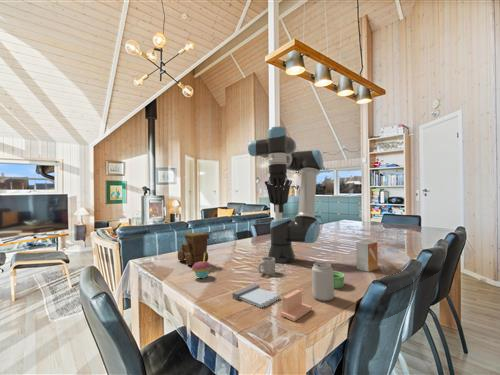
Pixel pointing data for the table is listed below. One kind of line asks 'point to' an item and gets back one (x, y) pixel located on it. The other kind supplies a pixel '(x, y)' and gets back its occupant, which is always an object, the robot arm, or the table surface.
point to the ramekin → (338, 279)
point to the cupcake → (201, 268)
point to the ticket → (256, 295)
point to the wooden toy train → (194, 248)
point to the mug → (267, 266)
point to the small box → (366, 255)
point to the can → (322, 281)
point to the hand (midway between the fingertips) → (278, 220)
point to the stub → (294, 306)
